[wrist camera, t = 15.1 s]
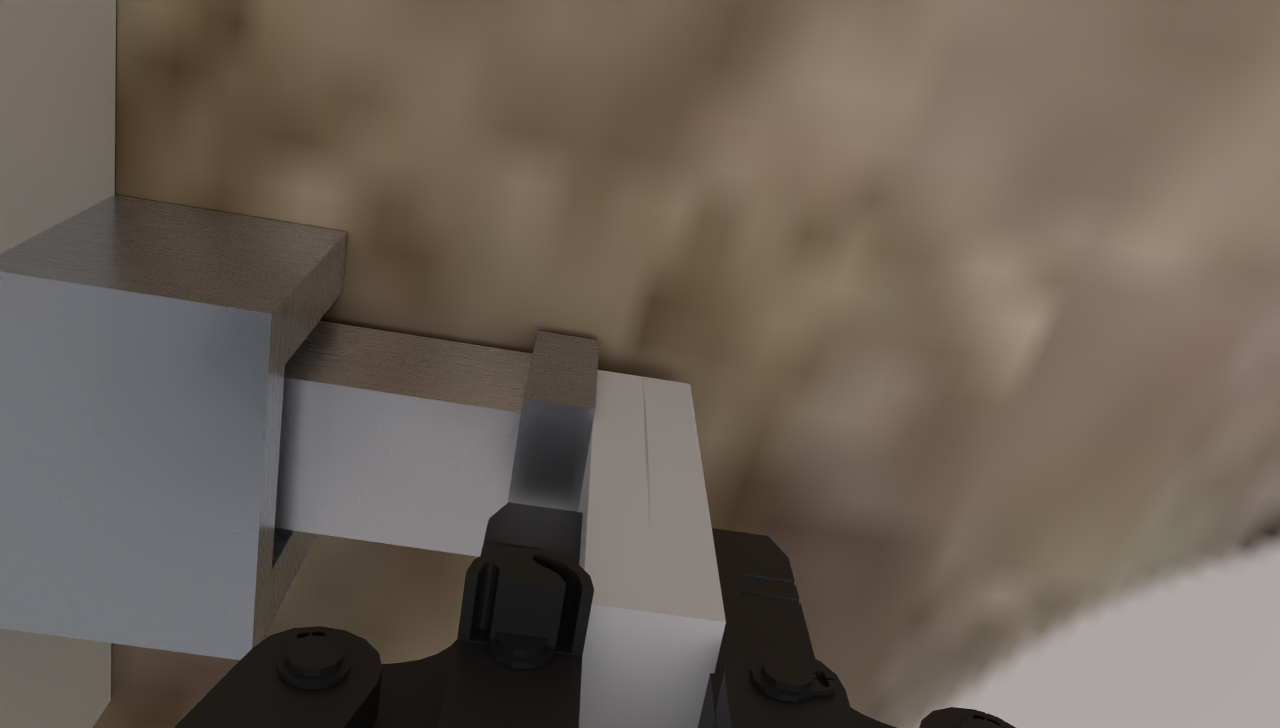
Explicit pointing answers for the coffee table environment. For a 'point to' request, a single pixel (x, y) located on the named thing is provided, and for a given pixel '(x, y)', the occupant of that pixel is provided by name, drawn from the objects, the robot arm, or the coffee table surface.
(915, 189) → the coffee table surface
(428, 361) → the lock pin
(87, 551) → the pin guide
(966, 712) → the robot arm
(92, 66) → the dock
